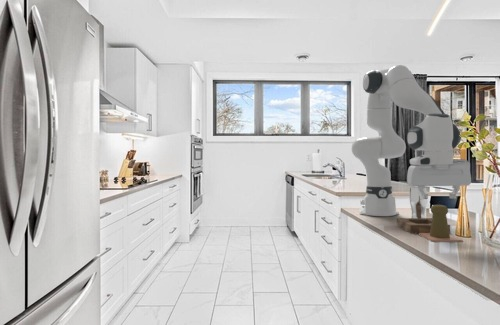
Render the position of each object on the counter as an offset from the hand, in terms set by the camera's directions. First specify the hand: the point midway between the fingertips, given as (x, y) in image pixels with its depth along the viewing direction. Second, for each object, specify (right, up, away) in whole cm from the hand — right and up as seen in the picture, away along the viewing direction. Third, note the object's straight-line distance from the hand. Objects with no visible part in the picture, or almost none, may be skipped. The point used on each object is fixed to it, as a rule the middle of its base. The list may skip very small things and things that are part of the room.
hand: (438, 198), depth 112 cm
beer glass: (+8, -14, +28) cm, 32 cm away
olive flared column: (0, -13, 0) cm, 13 cm away
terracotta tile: (0, -14, 0) cm, 14 cm away
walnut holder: (+2, -14, +14) cm, 19 cm away
